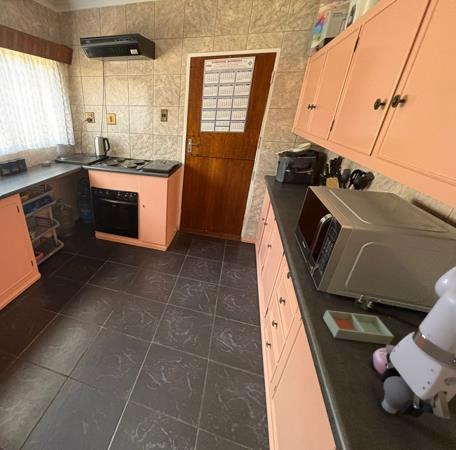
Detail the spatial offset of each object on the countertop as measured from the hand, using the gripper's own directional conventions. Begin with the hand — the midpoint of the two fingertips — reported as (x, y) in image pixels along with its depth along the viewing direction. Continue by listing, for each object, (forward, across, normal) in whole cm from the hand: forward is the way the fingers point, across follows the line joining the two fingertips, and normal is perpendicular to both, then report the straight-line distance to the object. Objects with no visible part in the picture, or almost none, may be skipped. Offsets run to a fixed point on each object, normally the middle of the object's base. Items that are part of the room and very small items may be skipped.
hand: (397, 396), depth 57 cm
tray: (+5, +24, -5) cm, 25 cm away
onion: (+5, +10, -6) cm, 13 cm away
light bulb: (+5, 0, 0) cm, 5 cm away
